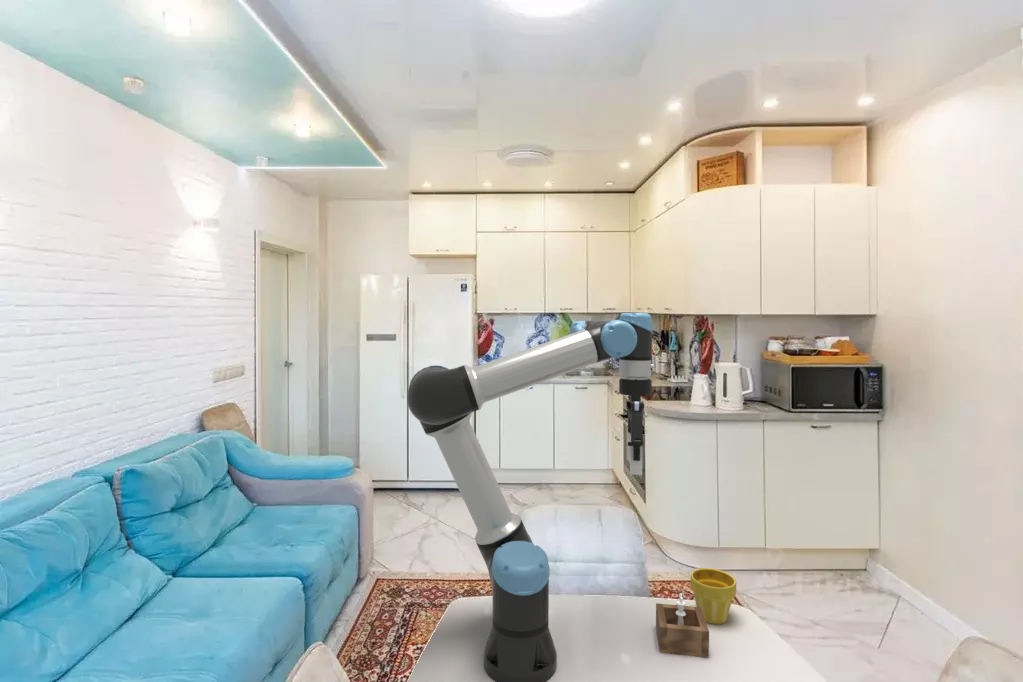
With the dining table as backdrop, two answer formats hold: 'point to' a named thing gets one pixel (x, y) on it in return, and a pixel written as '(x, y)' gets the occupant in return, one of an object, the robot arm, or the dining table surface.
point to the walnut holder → (682, 631)
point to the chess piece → (680, 610)
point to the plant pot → (713, 593)
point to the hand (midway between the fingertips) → (634, 466)
